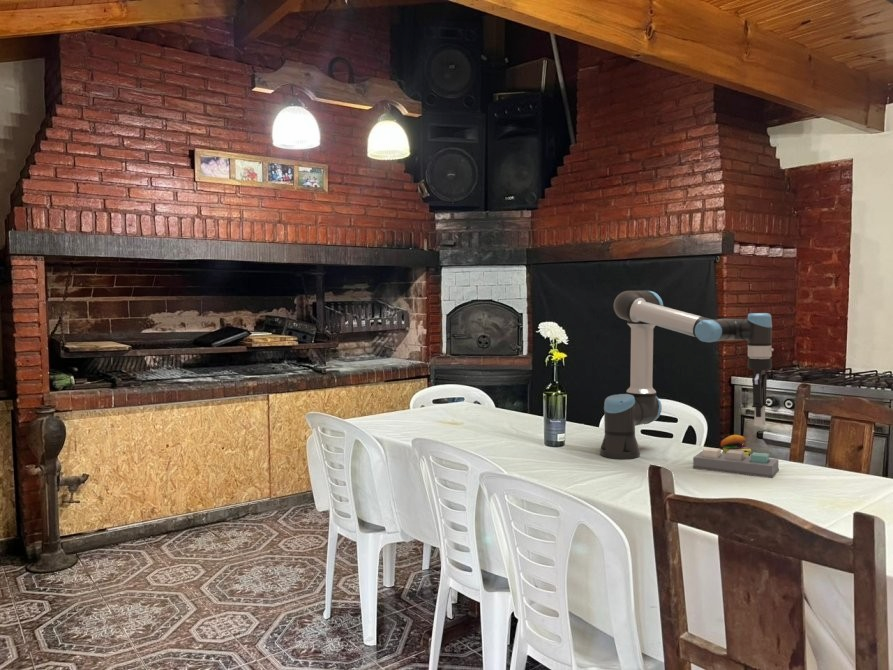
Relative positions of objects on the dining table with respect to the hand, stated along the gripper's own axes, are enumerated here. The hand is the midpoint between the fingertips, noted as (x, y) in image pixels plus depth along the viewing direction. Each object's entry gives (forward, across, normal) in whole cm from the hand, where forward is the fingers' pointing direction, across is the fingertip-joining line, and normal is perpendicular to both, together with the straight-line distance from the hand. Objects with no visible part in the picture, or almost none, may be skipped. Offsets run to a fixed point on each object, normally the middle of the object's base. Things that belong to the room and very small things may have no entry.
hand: (759, 425), depth 229 cm
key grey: (+14, 0, +8) cm, 16 cm away
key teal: (+14, 0, 0) cm, 14 cm away
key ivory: (+14, 0, +16) cm, 21 cm away
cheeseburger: (+17, +18, +12) cm, 28 cm away
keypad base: (+17, 0, +8) cm, 18 cm away
